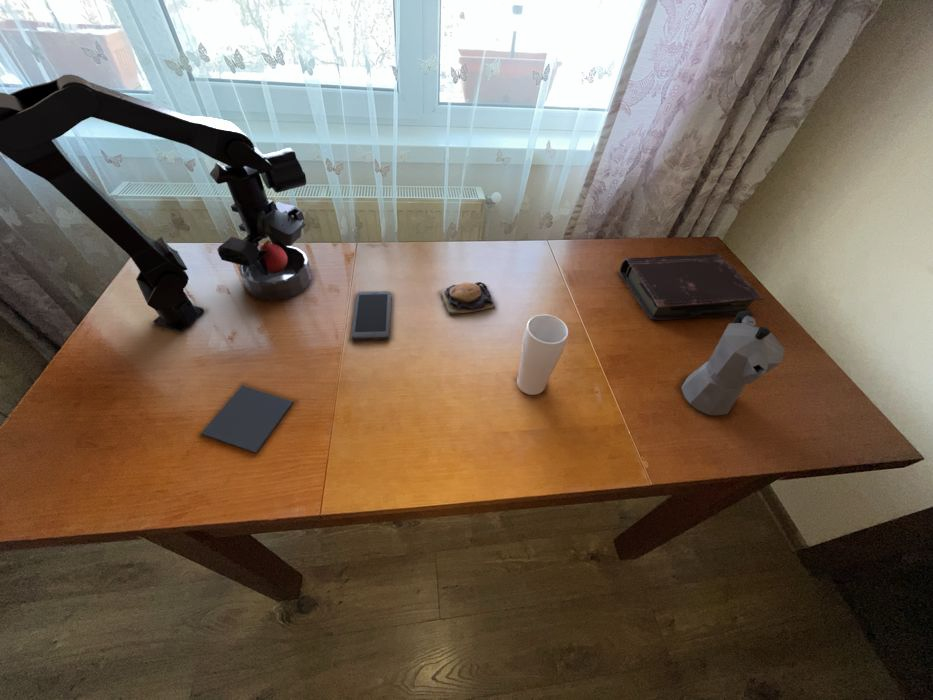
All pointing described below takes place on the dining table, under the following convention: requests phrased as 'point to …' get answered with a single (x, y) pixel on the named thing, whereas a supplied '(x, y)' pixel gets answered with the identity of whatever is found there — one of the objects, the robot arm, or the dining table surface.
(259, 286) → the bowl
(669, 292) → the diary
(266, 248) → the red rounded piece
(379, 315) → the cell phone
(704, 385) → the coffeepot
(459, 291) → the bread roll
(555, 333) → the tall white cup
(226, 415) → the mat
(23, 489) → the dining table surface
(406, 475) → the dining table surface
